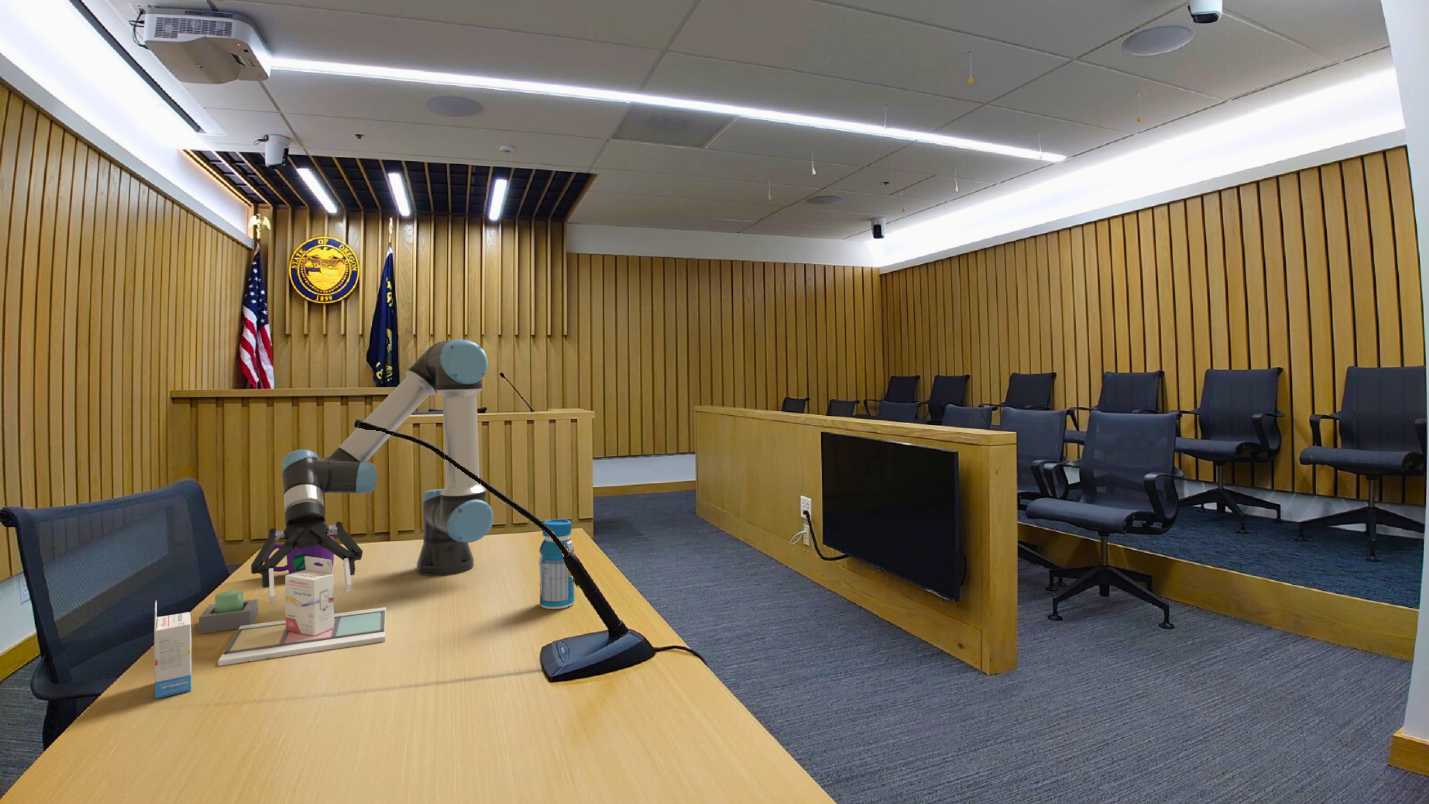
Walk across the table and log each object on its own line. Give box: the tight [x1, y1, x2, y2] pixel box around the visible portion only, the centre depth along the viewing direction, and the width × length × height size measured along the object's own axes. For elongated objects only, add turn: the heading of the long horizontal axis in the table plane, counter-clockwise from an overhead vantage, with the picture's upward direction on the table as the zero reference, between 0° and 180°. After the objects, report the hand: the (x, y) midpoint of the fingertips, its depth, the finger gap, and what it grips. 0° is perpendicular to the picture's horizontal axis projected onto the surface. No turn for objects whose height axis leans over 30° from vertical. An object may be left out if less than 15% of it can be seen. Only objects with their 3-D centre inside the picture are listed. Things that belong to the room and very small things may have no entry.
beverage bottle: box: [538, 518, 576, 610], centre depth 160 cm, size 8×8×20 cm
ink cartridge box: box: [284, 556, 335, 636], centre depth 139 cm, size 9×5×15 cm, turn 70°
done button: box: [214, 590, 244, 613], centre depth 147 cm, size 5×5×5 cm
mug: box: [263, 534, 335, 575], centre depth 184 cm, size 17×11×10 cm, turn 103°
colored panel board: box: [217, 606, 387, 667], centre depth 140 cm, size 28×20×1 cm
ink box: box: [153, 600, 192, 700], centre depth 116 cm, size 8×5×15 cm, turn 39°
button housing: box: [198, 598, 259, 635], centre depth 147 cm, size 9×9×4 cm
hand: (311, 593), depth 138 cm, fingers open, 13 cm apart
